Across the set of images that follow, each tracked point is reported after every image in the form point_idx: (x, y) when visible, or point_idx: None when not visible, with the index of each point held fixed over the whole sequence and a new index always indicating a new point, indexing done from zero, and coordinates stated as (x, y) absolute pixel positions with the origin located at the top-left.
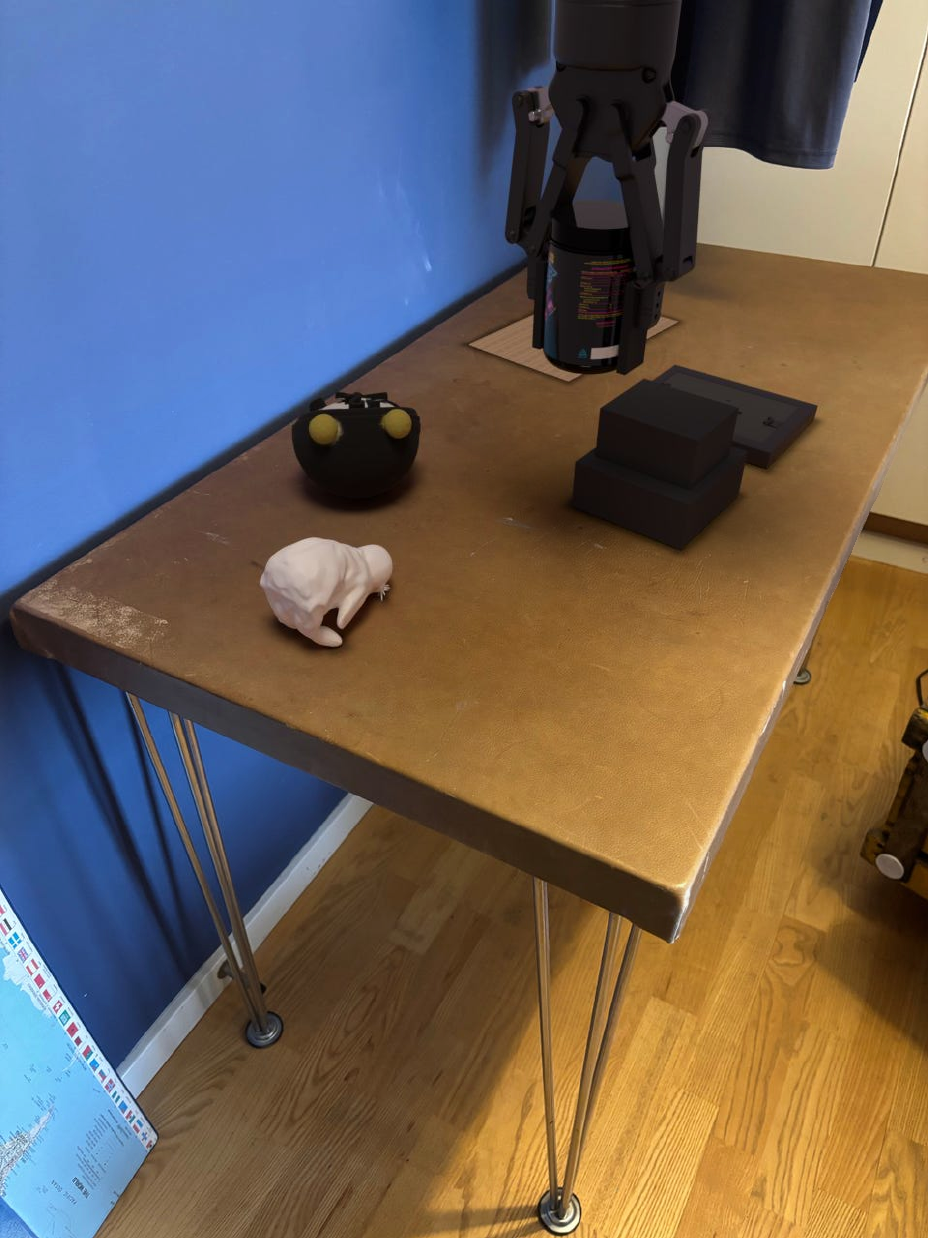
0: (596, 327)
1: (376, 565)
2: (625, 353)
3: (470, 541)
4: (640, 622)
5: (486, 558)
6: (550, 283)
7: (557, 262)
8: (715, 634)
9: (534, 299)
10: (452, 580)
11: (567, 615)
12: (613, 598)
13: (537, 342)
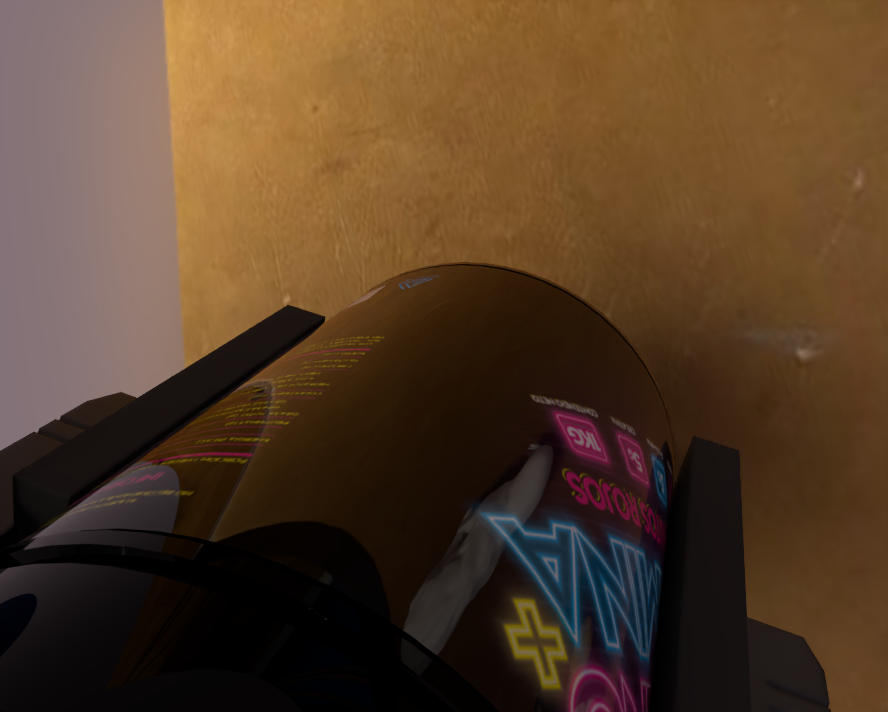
0: (309, 337)
1: None
2: (250, 336)
3: (880, 230)
4: (417, 93)
5: (815, 177)
6: (566, 511)
7: (457, 559)
8: (287, 119)
9: (742, 584)
10: (878, 51)
11: (561, 46)
12: (489, 148)
13: (709, 455)
